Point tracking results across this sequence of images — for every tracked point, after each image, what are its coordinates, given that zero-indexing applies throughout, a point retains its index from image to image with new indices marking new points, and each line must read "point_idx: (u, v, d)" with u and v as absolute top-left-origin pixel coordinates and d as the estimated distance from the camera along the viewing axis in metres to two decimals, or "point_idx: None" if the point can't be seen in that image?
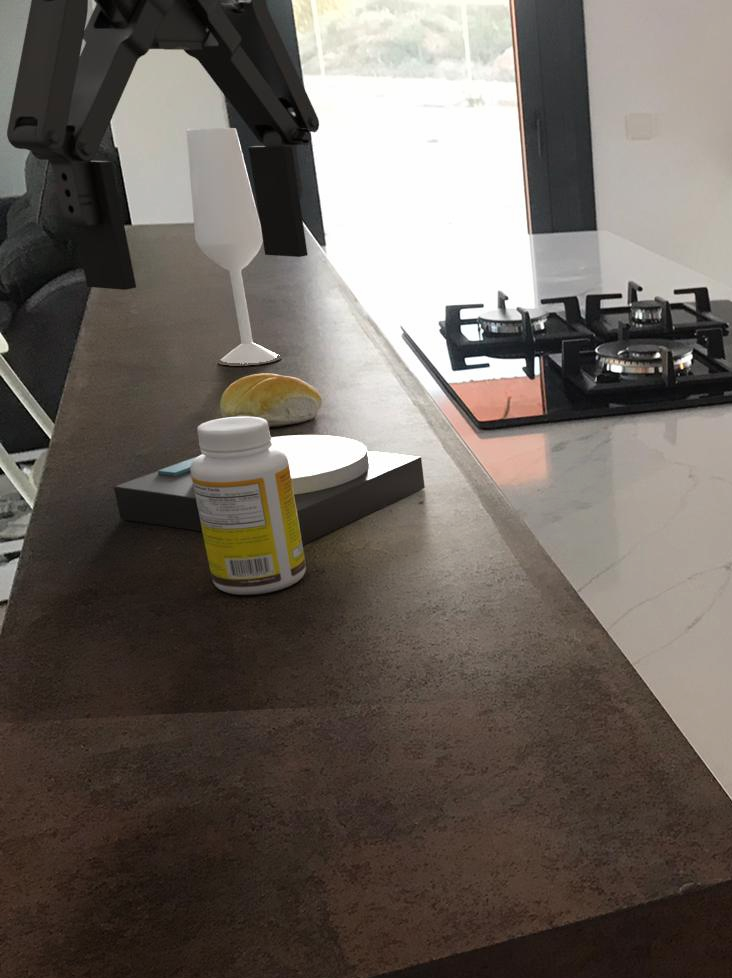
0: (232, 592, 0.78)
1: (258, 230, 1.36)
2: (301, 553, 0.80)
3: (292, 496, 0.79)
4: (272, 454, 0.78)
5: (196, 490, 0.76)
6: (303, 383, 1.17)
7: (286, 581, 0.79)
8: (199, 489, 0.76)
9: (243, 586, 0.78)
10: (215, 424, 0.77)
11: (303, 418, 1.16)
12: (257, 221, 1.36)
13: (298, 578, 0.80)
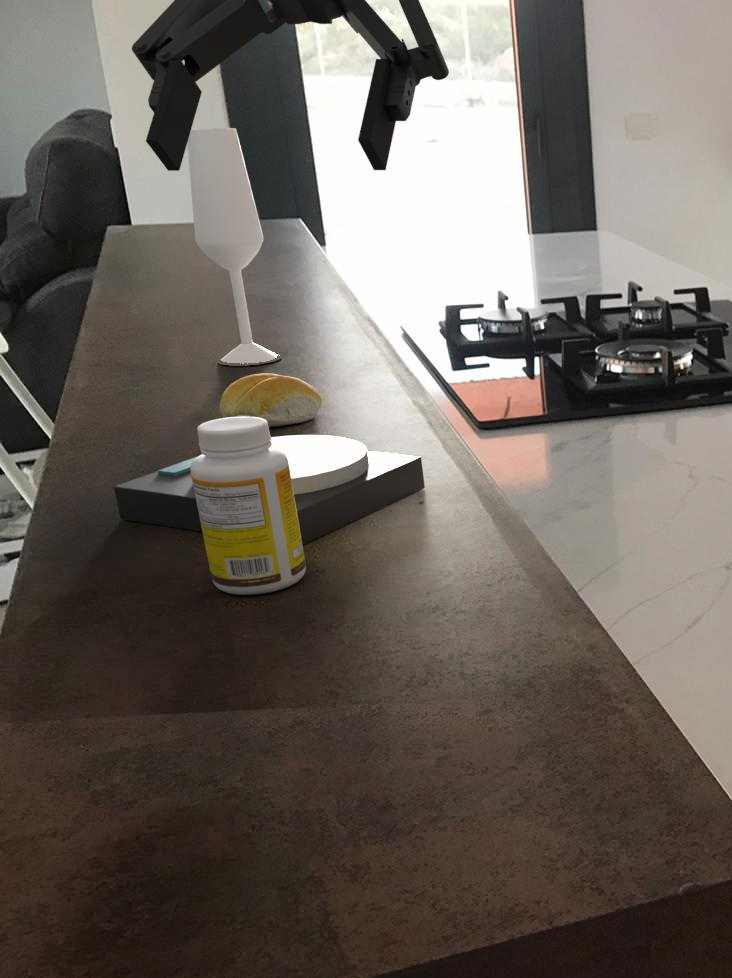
0: (232, 592, 0.78)
1: (258, 230, 1.36)
2: (301, 553, 0.80)
3: (292, 496, 0.79)
4: (272, 454, 0.78)
5: (196, 490, 0.76)
6: (303, 383, 1.17)
7: (286, 581, 0.79)
8: (199, 489, 0.76)
9: (243, 586, 0.78)
10: (215, 424, 0.77)
11: (303, 418, 1.16)
12: (257, 221, 1.36)
13: (298, 578, 0.80)
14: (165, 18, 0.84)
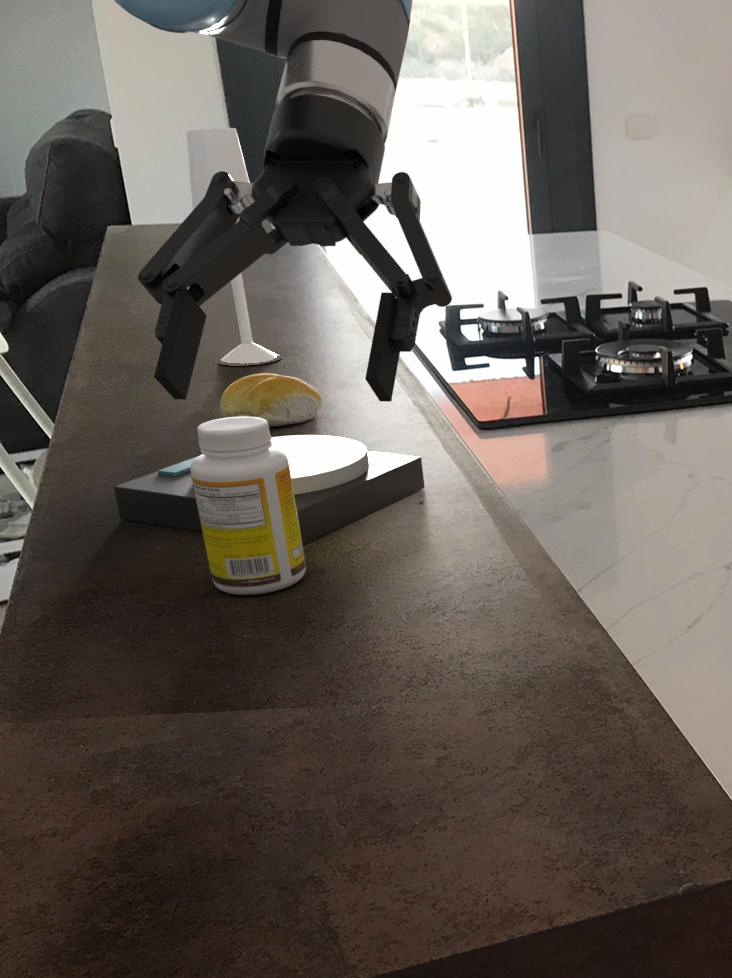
0: (232, 592, 0.78)
1: None
2: (301, 553, 0.80)
3: (292, 496, 0.79)
4: (272, 454, 0.78)
5: (196, 490, 0.76)
6: (303, 383, 1.17)
7: (286, 581, 0.79)
8: (199, 489, 0.76)
9: (243, 586, 0.78)
10: (215, 424, 0.77)
11: (303, 418, 1.16)
12: None
13: (298, 578, 0.80)
14: (170, 245, 0.85)
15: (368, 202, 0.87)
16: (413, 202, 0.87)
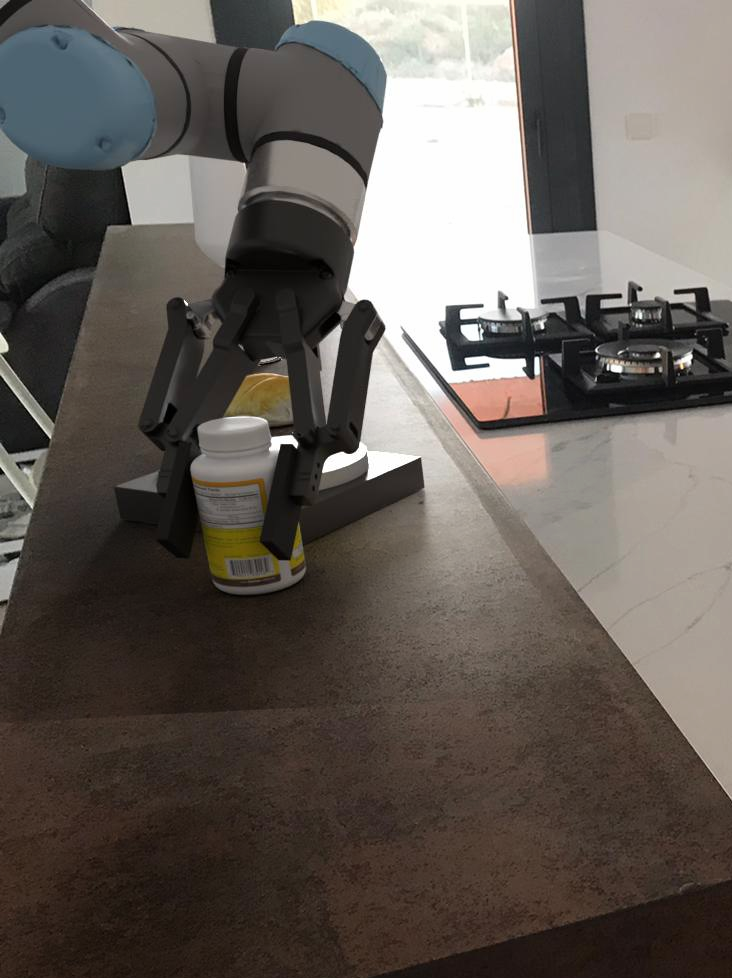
0: (232, 592, 0.78)
1: None
2: (301, 553, 0.80)
3: None
4: (272, 454, 0.78)
5: (196, 490, 0.76)
6: None
7: (286, 581, 0.79)
8: (199, 489, 0.76)
9: (243, 586, 0.78)
10: (215, 424, 0.77)
11: None
12: None
13: (298, 578, 0.80)
14: (157, 386, 0.79)
15: (330, 316, 0.82)
16: (368, 334, 0.81)
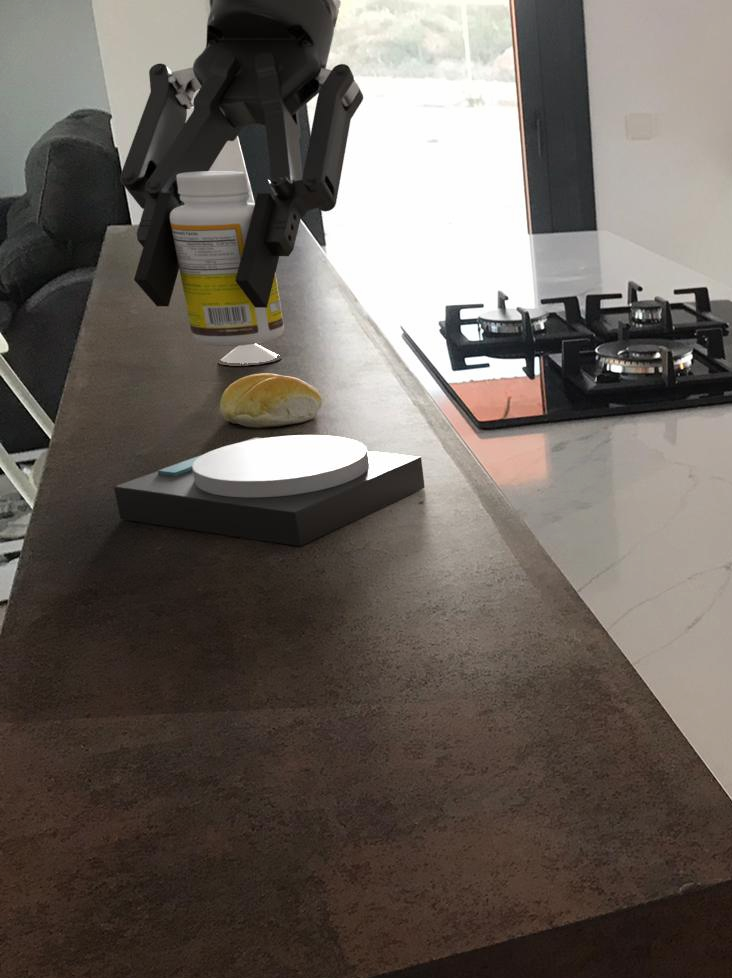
0: (210, 342, 0.80)
1: None
2: (279, 310, 0.82)
3: None
4: (250, 205, 0.79)
5: (175, 237, 0.78)
6: (303, 383, 1.17)
7: (263, 334, 0.81)
8: (178, 234, 0.78)
9: (221, 335, 0.80)
10: (194, 173, 0.79)
11: (303, 418, 1.16)
12: None
13: (276, 334, 0.82)
14: (139, 143, 0.81)
15: (309, 83, 0.84)
16: (346, 98, 0.83)
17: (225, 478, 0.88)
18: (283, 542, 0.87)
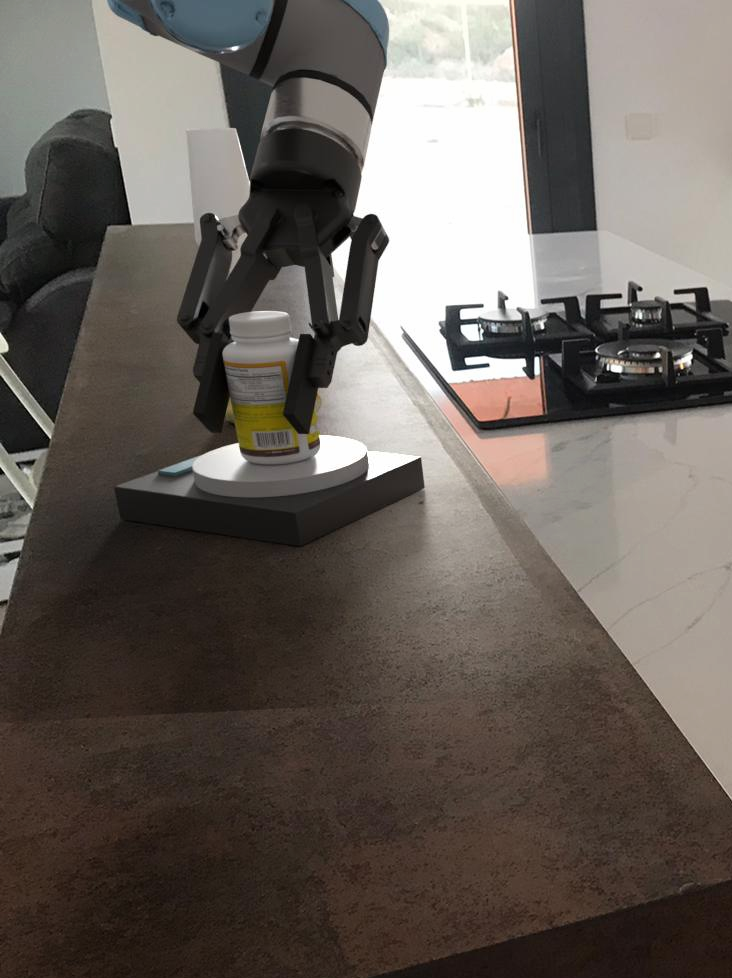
0: (258, 462, 0.91)
1: None
2: (317, 431, 0.93)
3: None
4: (292, 342, 0.90)
5: (227, 372, 0.89)
6: None
7: (304, 453, 0.92)
8: (230, 370, 0.89)
9: (267, 456, 0.91)
10: (244, 315, 0.90)
11: None
12: None
13: (314, 452, 0.93)
14: (193, 287, 0.92)
15: (341, 229, 0.95)
16: (375, 243, 0.94)
17: (225, 478, 0.88)
18: (283, 542, 0.87)
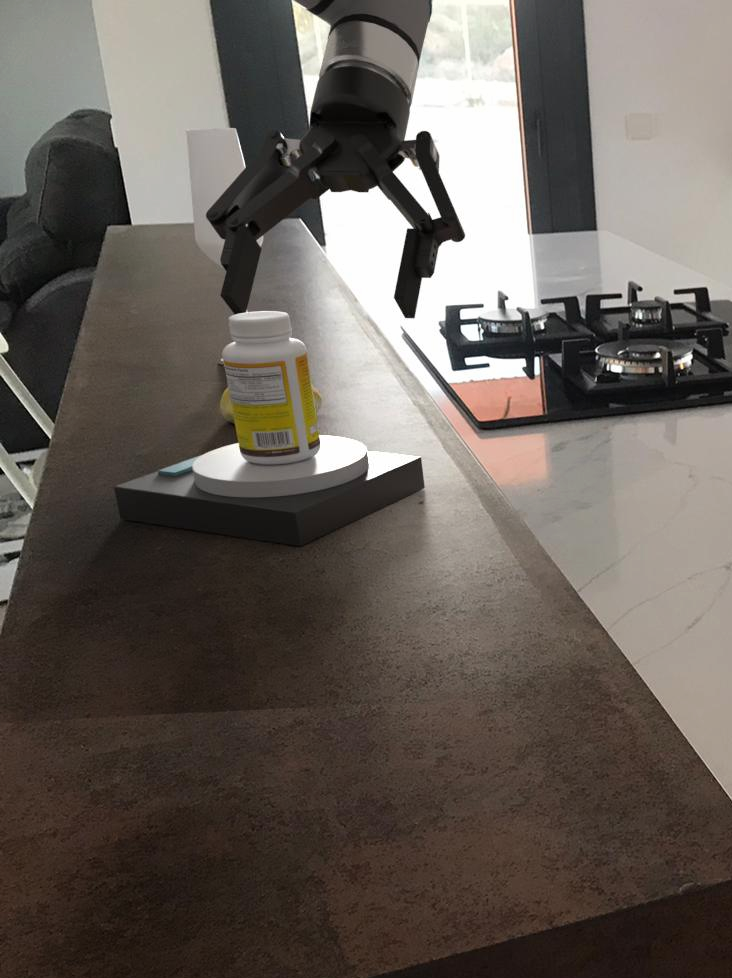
0: (258, 462, 0.91)
1: None
2: (317, 431, 0.93)
3: (309, 380, 0.92)
4: (292, 342, 0.90)
5: (227, 372, 0.89)
6: None
7: (304, 453, 0.92)
8: (230, 370, 0.89)
9: (267, 456, 0.91)
10: (244, 315, 0.90)
11: None
12: None
13: (314, 452, 0.93)
14: (232, 190, 1.03)
15: (396, 156, 1.05)
16: (433, 156, 1.04)
17: (225, 478, 0.88)
18: (283, 542, 0.87)
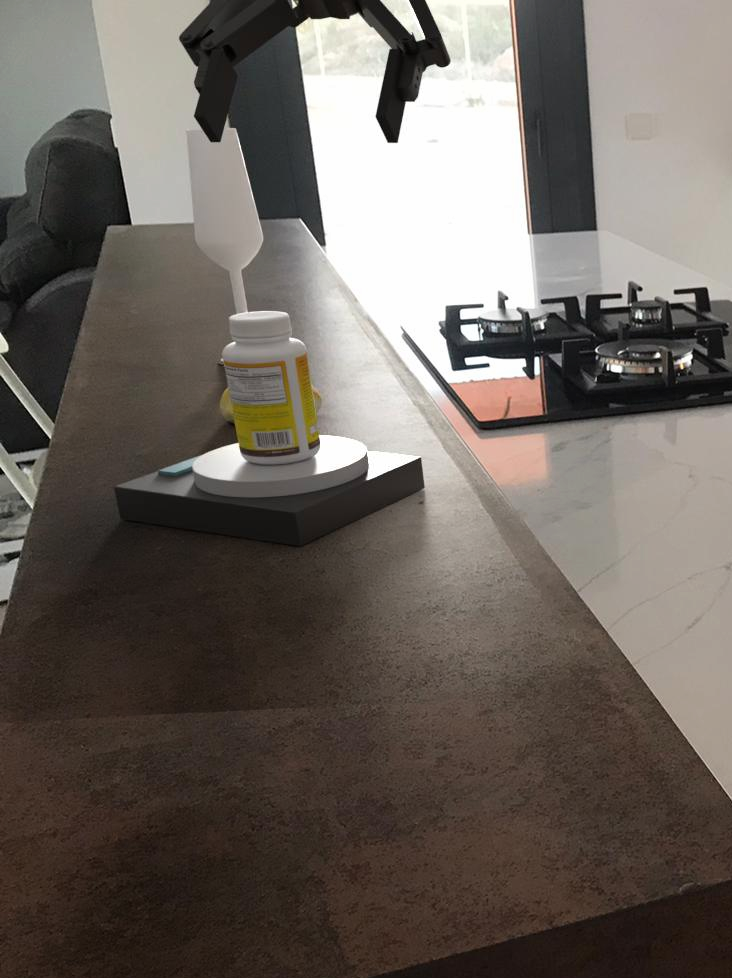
0: (258, 462, 0.91)
1: (258, 230, 1.36)
2: (317, 431, 0.93)
3: (309, 380, 0.92)
4: (292, 342, 0.90)
5: (227, 372, 0.89)
6: None
7: (304, 453, 0.92)
8: (230, 370, 0.89)
9: (267, 456, 0.91)
10: (244, 315, 0.90)
11: None
12: (257, 221, 1.36)
13: (314, 452, 0.93)
14: (207, 13, 0.98)
15: None
16: None
17: (225, 478, 0.88)
18: (283, 542, 0.87)
